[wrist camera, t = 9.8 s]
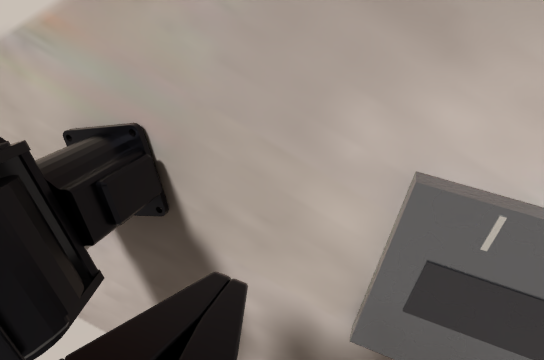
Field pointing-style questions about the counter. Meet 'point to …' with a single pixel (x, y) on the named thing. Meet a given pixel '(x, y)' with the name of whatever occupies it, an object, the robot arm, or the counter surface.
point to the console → (457, 278)
